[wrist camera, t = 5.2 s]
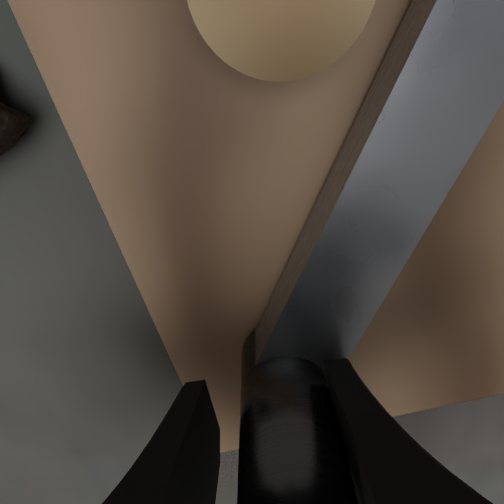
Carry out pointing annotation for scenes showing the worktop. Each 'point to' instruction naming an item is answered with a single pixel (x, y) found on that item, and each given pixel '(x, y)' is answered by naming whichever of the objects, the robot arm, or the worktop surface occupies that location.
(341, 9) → the beige cylinder plug
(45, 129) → the worktop surface
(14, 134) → the hand tool
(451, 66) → the lever
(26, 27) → the board
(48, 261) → the worktop surface
